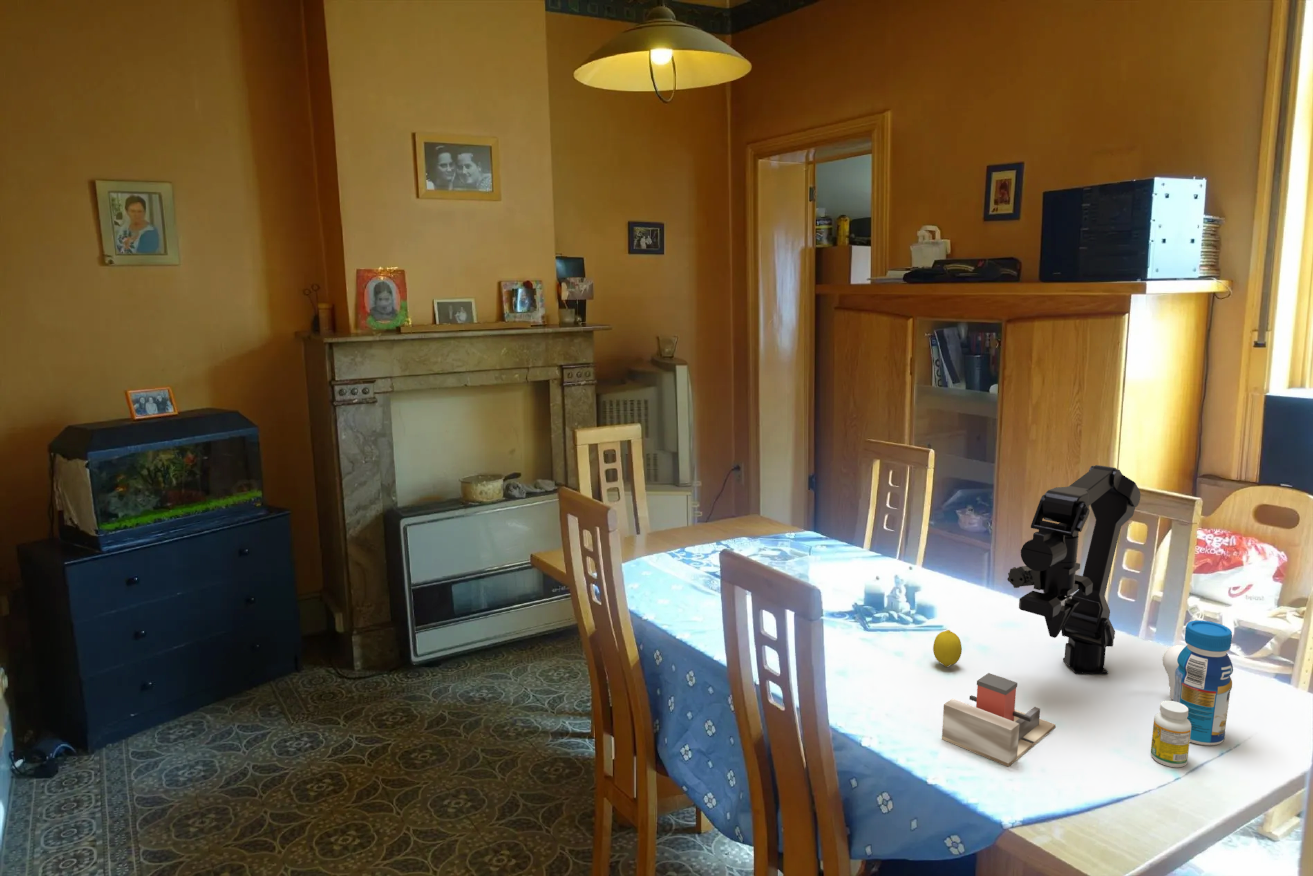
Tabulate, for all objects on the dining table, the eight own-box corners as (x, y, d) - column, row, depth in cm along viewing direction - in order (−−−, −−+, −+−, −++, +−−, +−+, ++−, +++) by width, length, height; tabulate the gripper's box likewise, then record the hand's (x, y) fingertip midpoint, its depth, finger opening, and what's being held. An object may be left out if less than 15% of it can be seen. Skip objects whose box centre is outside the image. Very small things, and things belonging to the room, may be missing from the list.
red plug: (970, 717, 159) (973, 667, 157) (1030, 740, 151) (1034, 688, 149) (958, 725, 156) (961, 675, 154) (1018, 750, 148) (1022, 696, 146)
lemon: (962, 673, 177) (964, 636, 176) (933, 671, 179) (935, 634, 177) (958, 661, 183) (960, 625, 181) (930, 659, 184) (932, 624, 182)
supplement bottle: (1183, 772, 143) (1189, 718, 141) (1146, 760, 146) (1152, 707, 144) (1190, 758, 147) (1196, 705, 145) (1153, 747, 150) (1159, 695, 148)
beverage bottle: (1159, 722, 158) (1170, 617, 154) (1207, 722, 158) (1219, 617, 154) (1185, 747, 150) (1198, 637, 146) (1236, 747, 149) (1250, 637, 146)
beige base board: (991, 703, 165) (993, 671, 164) (1055, 727, 157) (1058, 693, 155) (941, 739, 153) (943, 704, 152) (1008, 767, 145) (1011, 730, 143)
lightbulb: (1182, 712, 161) (1189, 656, 159) (1151, 698, 167) (1156, 644, 165) (1203, 704, 164) (1209, 649, 162) (1171, 690, 169) (1177, 637, 167)
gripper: (1038, 537, 175) (1033, 611, 178) (994, 559, 162) (989, 638, 165) (1096, 550, 167) (1090, 627, 170) (1054, 574, 154) (1048, 657, 157)
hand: (1053, 636), depth 166 cm, fingers closed
